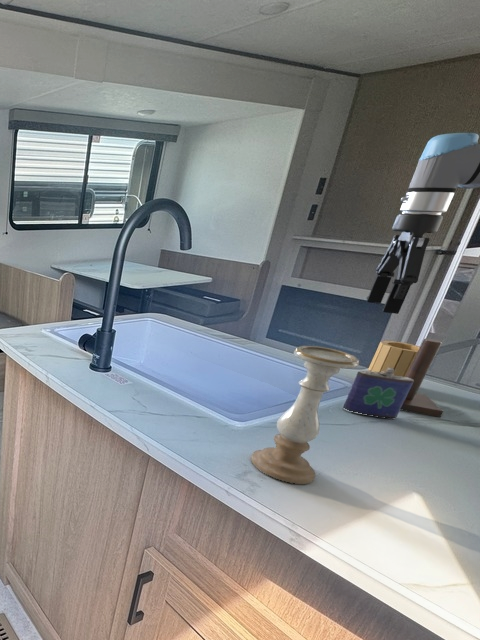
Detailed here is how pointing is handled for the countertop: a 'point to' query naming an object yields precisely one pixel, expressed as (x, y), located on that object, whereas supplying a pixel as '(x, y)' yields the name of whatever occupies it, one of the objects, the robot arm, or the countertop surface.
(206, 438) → the countertop surface
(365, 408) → the flask
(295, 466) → the candle holder
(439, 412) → the stand
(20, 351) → the countertop surface
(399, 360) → the wooden container
